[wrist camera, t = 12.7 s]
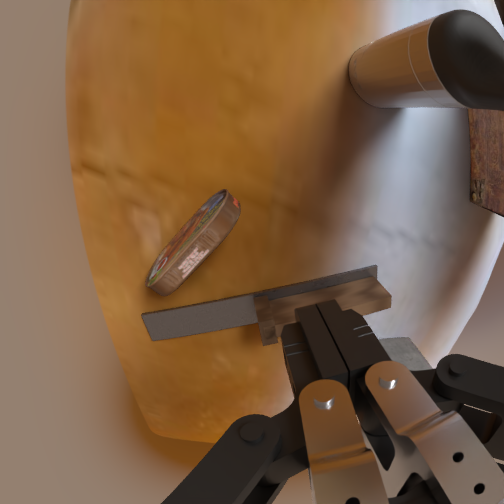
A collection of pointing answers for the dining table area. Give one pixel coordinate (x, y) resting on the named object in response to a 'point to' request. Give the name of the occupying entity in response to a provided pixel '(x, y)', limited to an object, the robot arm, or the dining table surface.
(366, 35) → the dining table surface
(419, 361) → the hip flask
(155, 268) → the tin
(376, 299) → the brown wooden block
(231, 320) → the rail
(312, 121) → the dining table surface
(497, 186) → the book
